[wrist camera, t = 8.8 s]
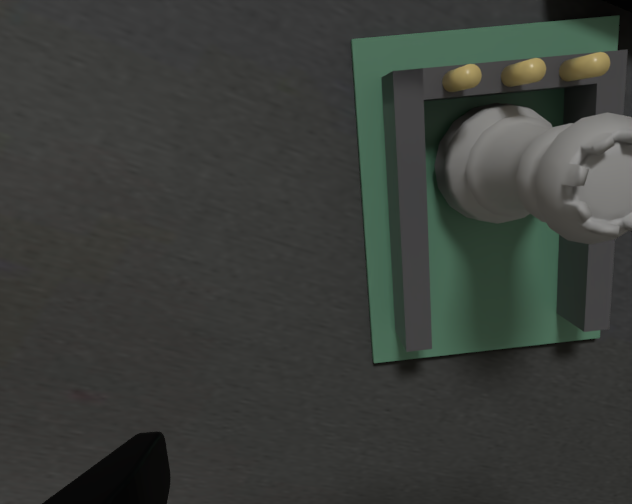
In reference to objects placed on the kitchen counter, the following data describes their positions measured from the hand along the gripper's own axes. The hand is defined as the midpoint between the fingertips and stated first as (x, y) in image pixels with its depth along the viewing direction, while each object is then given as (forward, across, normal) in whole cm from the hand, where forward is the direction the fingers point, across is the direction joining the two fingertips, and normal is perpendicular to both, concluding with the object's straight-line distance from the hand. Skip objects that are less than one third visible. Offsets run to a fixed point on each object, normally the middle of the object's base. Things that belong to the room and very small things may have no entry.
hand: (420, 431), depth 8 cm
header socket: (+12, -6, -2) cm, 13 cm away
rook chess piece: (+12, -6, -4) cm, 13 cm away
